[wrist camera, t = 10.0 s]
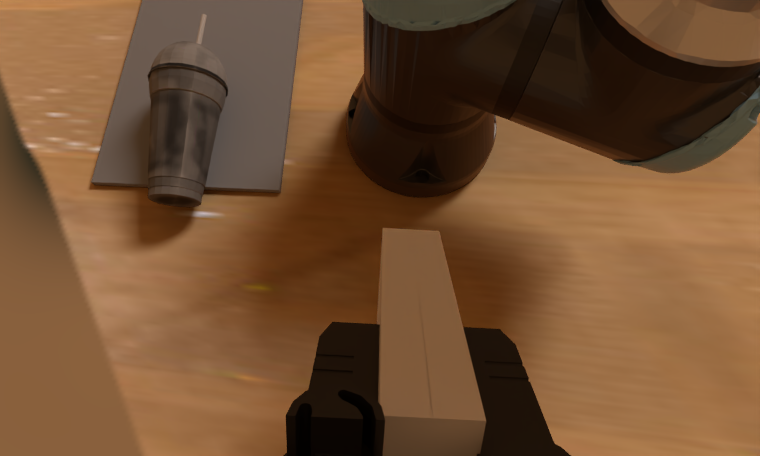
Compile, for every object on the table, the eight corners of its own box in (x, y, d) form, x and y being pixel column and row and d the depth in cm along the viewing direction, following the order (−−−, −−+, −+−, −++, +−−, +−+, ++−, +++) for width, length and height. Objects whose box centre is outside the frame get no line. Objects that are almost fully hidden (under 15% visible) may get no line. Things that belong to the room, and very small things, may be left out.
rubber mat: (153, -27, 58) (151, -31, 57) (305, -19, 58) (304, -24, 57) (94, 184, 47) (91, 182, 47) (280, 192, 48) (279, 190, 47)
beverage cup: (111, 189, 41) (143, -16, 46) (160, 210, 48) (183, 31, 53) (192, 188, 40) (216, -21, 45) (229, 210, 47) (247, 28, 52)
